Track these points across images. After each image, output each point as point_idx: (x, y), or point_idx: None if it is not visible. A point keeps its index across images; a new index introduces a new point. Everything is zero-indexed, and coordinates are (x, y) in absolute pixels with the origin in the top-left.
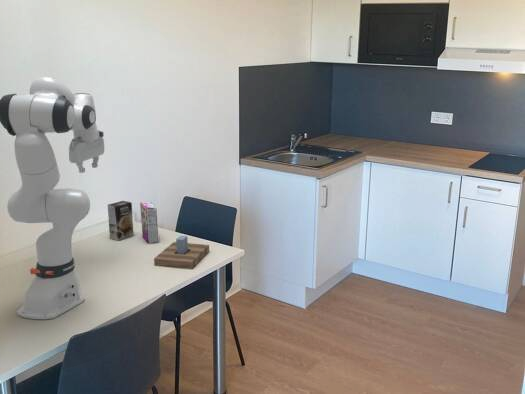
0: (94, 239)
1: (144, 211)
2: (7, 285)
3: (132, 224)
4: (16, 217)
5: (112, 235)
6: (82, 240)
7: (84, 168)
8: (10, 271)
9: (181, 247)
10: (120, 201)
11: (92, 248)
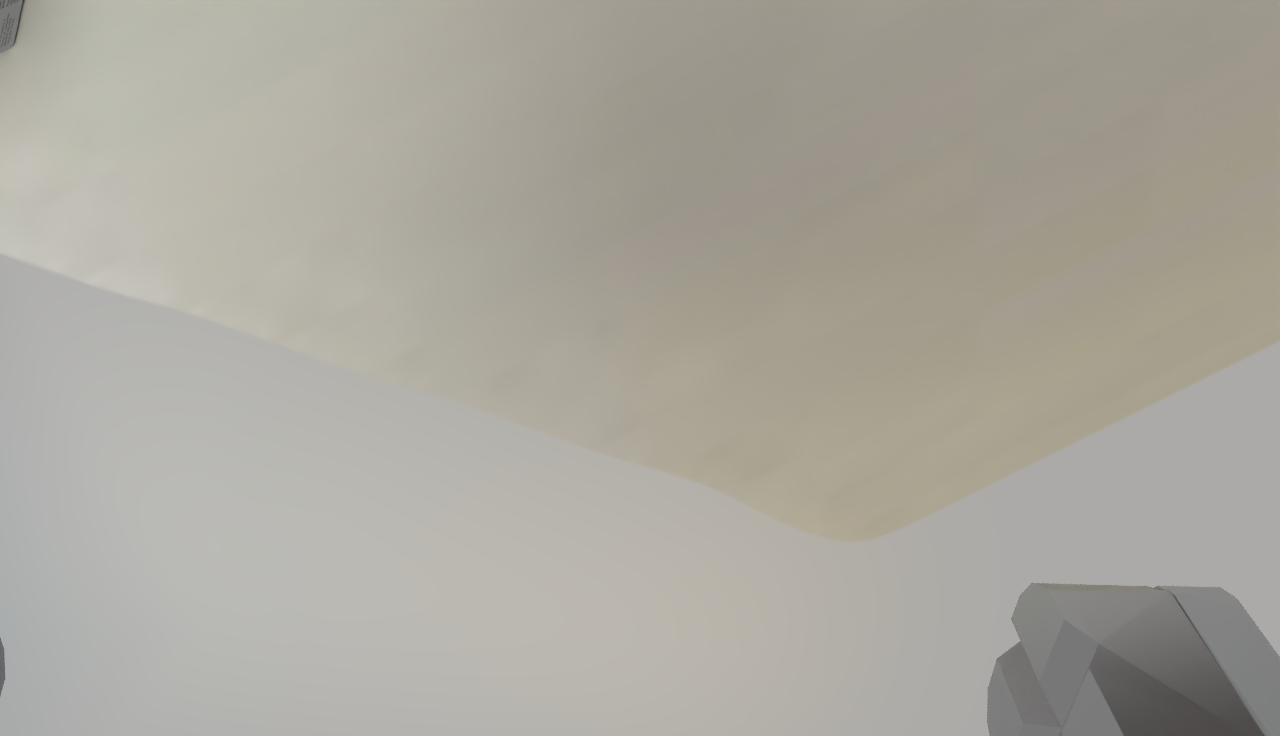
0: (114, 192)
1: None
2: (1244, 340)
3: None
4: None
5: (1, 7)
6: (189, 288)
7: (1140, 718)
8: (972, 458)
9: None
10: None
11: (353, 87)
